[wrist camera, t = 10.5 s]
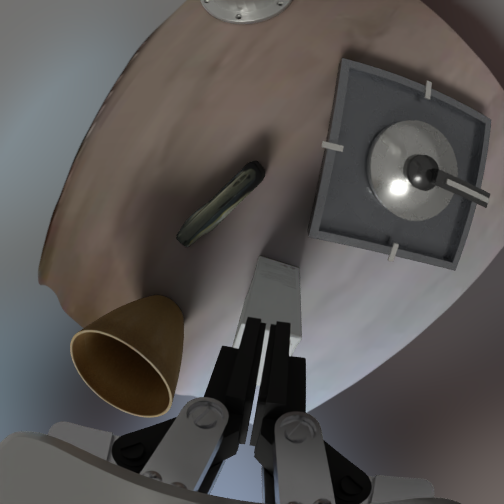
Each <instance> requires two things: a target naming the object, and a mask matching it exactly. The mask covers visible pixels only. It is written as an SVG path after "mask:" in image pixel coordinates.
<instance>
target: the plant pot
mask: <svg viewBox="0 0 504 504" xmlns="http://www.w3.org/2000/svg"><path fill="white" fill-rule="evenodd" d="M183 340H184V320H183V314H182V312H181V310H180V308H179V307H178V305H177V304H176V303H175V302H173V301H172V300H171V299H169V298H167V297H165V296H161V295H153V296H149V297H145V298H142V299H139V300H136V301H133V302H131V303H128V304H126V305H123V306H121V307H119V308H117V309H115V310H113V311H111V312H109V313H107V314H106V315H104V316H102V317H101V318H99V319H97V320H96V321H94V322H93V323H91V324H90V325H88V326H87V327H85V328H84V329H82V330H81V331H79V332H78V333H77V334H75V335H74V337H73V338H72V340H71V344H70V350H71V357H72V360H73V363H74V365H75V367H76V369H77V371H78V373H79V374H80V376H81V377H82V379H83V380H84V382H85V383H86V384H87V385H88V386H89V387H90V388H91V389H92V390H93V391H94V392H95V393H96V394H97V395H98V396H99V397H100V398H102V399H103V400H104V401H106V402H107V403H109V404H110V405H112V406H114V407H116V408H118V409H119V410H121V411H124V412H126V413H129V414H132V415H135V416H141V417H158V416H161V415H163V414H165V413H166V412H167V411H168V410H169V409H170V408H171V405H172V402H173V398H174V394H175V390H176V385H177V381H178V377H179V372H180V366H181V360H182V352H183Z"/></svg>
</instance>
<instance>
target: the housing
mask: <svg viewBox="0 0 504 504" xmlns="http://www.w3.org/2000/svg"><path fill="white" fill-rule="evenodd" d="M431 85H432V82H430V81H426V82H425V85H422V84H420V83H417V82H415V81H412V80H410V79H407V78H405V77H402V76H399V75H396V74H394V73H391V72H388V71H385V70H382V69H379V68H376V67H373V66H369V65H366V64H363V63H359V62H355V61H352V60H348V59H344V58H342V59H341V61H340V63H339V67H338V74H337V81H336V87H335V94H334V100H333V106H332V112H331V118H330V124H329V129H328V135H327V140H326V142H325V141H322V147H324V148H325V151H324V156H323V161H322V166H321V171H320V176H319V181H318V186H317V191H316V196H315V200H314V205H313V210H312V214H311V219H310V223H309V227H308V236H309V237H311V238H316V239H321V240H325V241H330V242H335V243H339V244H344V245H348V246H353V247H357V248H362V249H366V250H371V251H375V252H380V253H384V254H388V255H389V257H388V261H391V262H393V261H394V258H395V256H397V257H401V258H405V259H410V260H414V261H418V262H422V263H426V264H430V265H434V266H438V267H443V268H447V269H451V270H454V271H455V270H456V267H457V265H458V262H459V259H460V257H461V254H462V251H463V248H464V245H465V242H466V239H467V236H468V233H469V230H470V226H471V223H472V219H473V216H474V212H475V209H476V205H477V204H476V203H474V202H472V201H470V200H467V199H465V198H463V197H461V196H458V195H456V194H453V197H452V199H451V200H450V202H449V203H448V205H447V206H446V207H445V208H444V209H443V210H442V211H441V212H440V213H439V214H437V215H436V216H434V217H432V218H430V219H427V220H423V221H410V220H405V219H403V218H400V217H398V216H396V215H395V214H393V213H392V212H391V211H389V210H388V209H387V208H385V207H384V206H383V205H382V204H381V203H380V202H379V201H378V199H377V198H376V197H375V195H374V193H373V191H372V189H371V187H370V184H369V181H368V176H367V158H368V153H369V149H370V147H371V145H372V142H373V141H374V139H375V138H376V136H377V135H378V134H379V133H380V132H381V131H382V130H383V129H384V128H386V127H387V126H389V125H391V124H393V123H397V122H401V121H407V120H417V121H422V122H425V123H428V124H430V125H432V126H433V127H435V128H436V129H438V130H439V131H440V132H441V133H442V134H443V135H444V136H445V138H446V139H447V140H448V142H449V143H450V145H451V147H452V149H453V151H454V154H455V157H456V161H457V168H458V178H459V179H462V180H464V181H466V182H468V183H470V184H472V185H474V186H476V187H478V188H481V184H482V179H483V174H484V169H485V163H486V157H487V151H488V144H489V137H490V128H491V119H489V118H487V117H486V116H484V115H482V114H481V113H479V112H477V111H475V110H474V109H472V108H470V107H468V106H466V105H464V104H463V103H461V102H459V101H457V100H455V99H453V98H451V97H449V96H447V95H445V94H442V93H440V92H438V91H436V90H434V89H431Z"/></svg>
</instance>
